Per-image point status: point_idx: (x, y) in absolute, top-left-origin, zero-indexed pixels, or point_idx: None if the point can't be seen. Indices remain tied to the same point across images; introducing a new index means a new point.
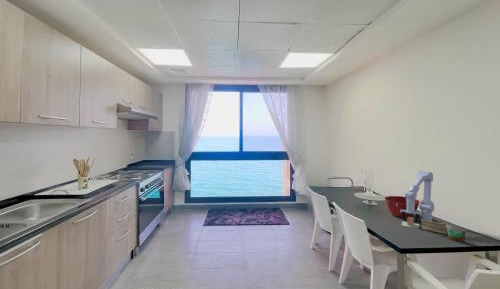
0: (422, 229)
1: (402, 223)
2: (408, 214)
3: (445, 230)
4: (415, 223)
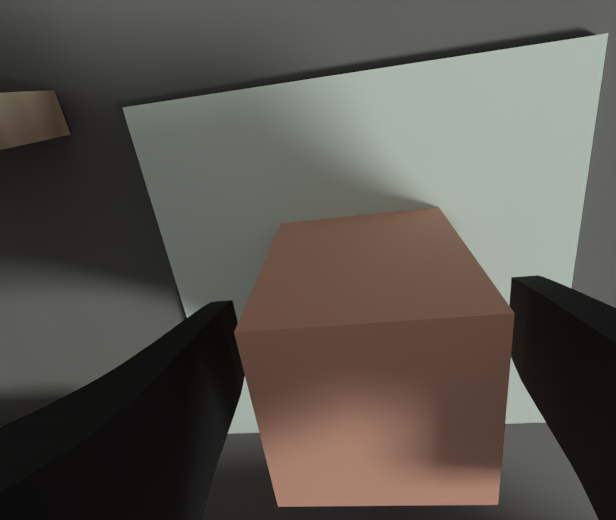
0: (41, 93)
1: (562, 248)
2: None
3: None
4: None
